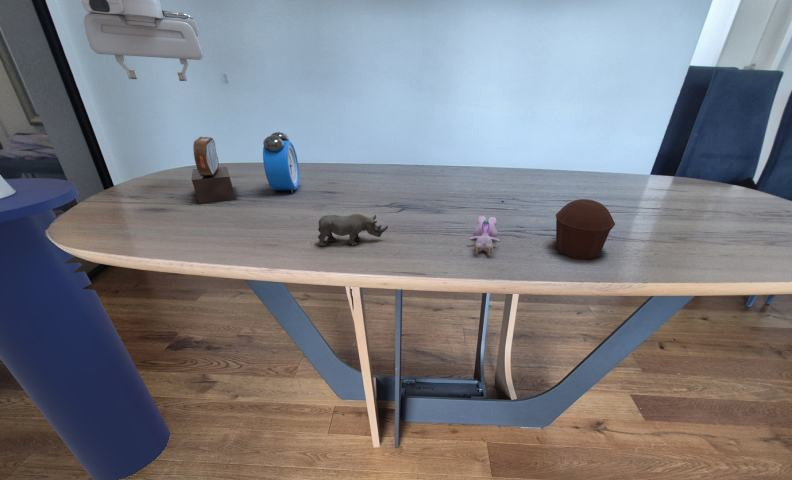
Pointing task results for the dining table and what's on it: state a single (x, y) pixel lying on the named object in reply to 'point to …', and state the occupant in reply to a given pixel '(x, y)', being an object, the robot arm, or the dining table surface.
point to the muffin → (582, 228)
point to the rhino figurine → (347, 227)
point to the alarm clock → (280, 162)
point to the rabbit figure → (485, 234)
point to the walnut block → (213, 186)
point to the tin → (205, 156)
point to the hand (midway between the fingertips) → (159, 80)
